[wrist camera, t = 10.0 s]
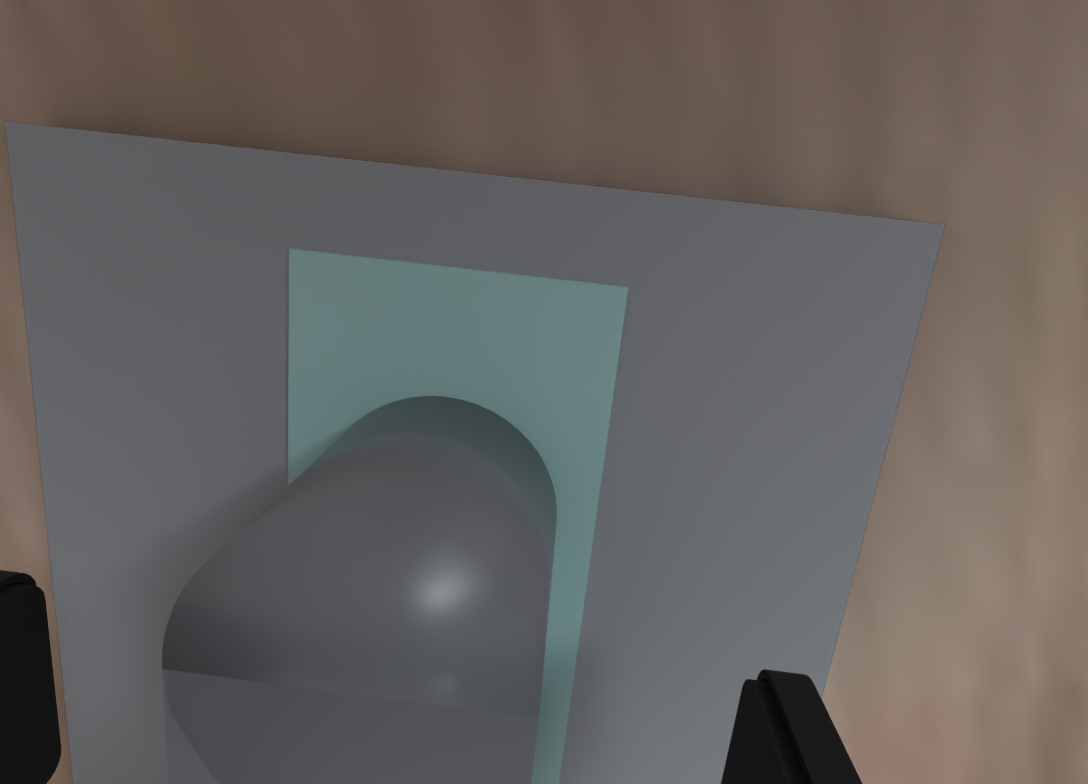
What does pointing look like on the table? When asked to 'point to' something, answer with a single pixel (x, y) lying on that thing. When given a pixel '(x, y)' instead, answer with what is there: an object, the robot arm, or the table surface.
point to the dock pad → (472, 375)
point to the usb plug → (374, 614)
